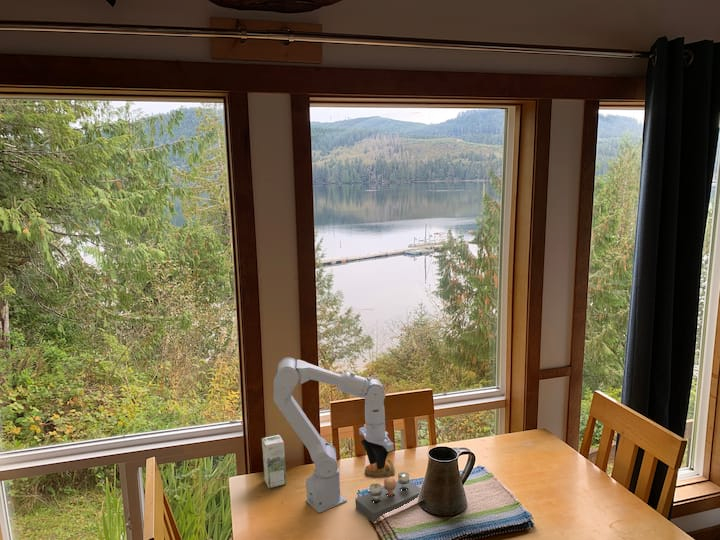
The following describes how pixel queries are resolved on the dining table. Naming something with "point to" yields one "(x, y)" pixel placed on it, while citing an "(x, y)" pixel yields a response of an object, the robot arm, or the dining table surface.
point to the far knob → (403, 480)
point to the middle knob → (390, 486)
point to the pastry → (385, 471)
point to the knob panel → (386, 501)
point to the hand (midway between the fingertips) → (377, 465)
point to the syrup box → (274, 461)
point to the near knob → (375, 492)
